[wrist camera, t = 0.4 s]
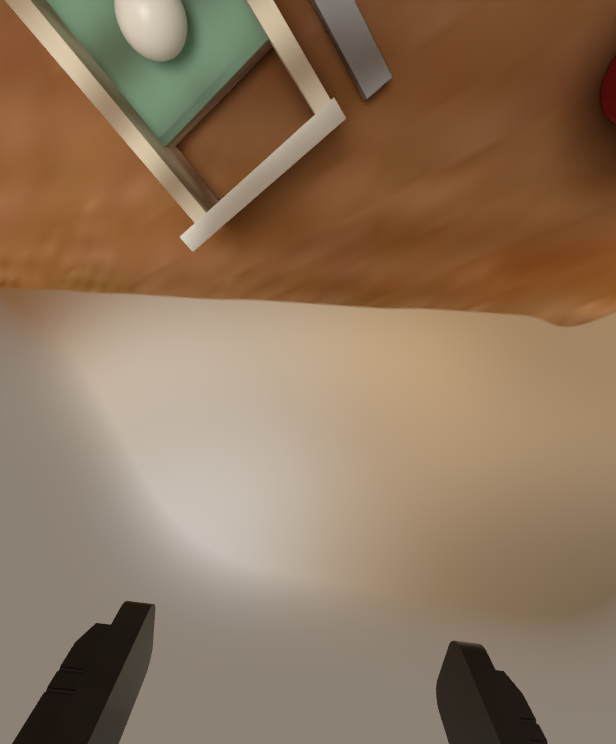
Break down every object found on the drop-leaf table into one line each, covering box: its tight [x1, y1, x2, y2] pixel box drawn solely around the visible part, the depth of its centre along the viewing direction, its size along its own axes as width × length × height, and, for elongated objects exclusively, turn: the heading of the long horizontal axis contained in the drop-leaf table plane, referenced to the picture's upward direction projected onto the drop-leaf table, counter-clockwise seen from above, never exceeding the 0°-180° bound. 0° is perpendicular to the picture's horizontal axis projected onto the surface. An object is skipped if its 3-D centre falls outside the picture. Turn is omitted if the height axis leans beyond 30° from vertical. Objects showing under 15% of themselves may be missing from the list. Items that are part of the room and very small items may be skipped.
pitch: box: [5, 0, 392, 252], centre depth 22 cm, size 20×17×9 cm
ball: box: [114, 0, 187, 62], centre depth 22 cm, size 4×4×4 cm
